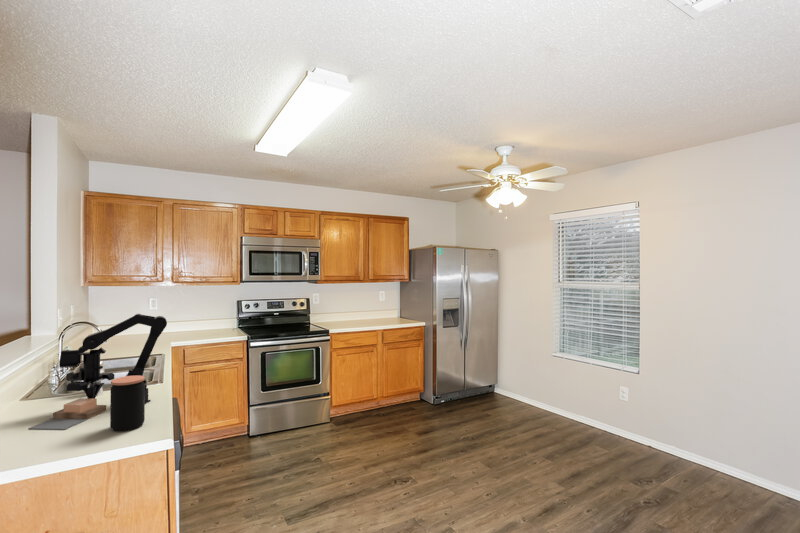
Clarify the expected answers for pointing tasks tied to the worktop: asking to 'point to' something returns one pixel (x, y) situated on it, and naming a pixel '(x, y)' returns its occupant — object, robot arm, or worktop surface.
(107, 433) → the worktop surface
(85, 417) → the walnut ledge
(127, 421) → the coffee jar
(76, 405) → the terracotta tile
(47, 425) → the charcoal mat
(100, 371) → the beer glass
